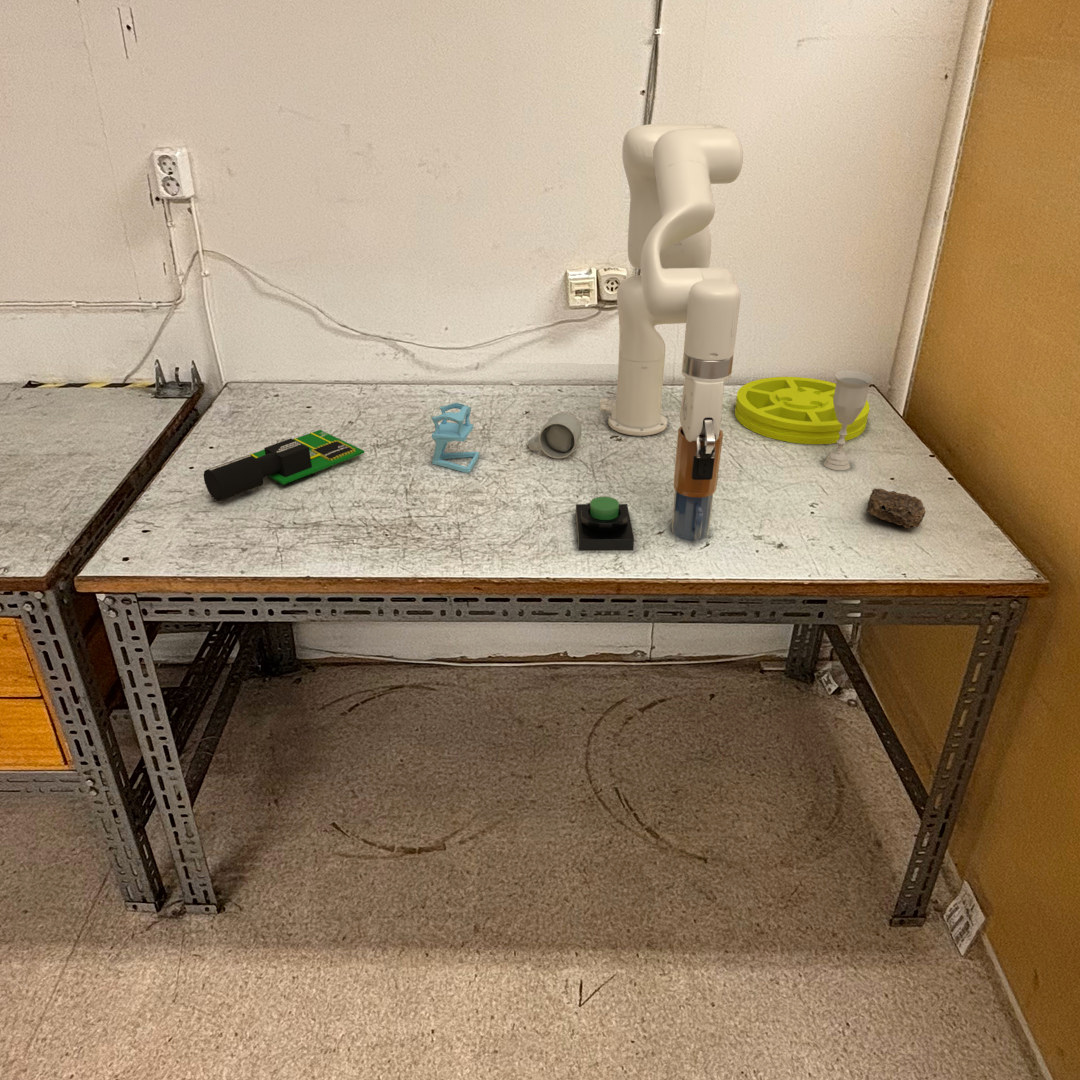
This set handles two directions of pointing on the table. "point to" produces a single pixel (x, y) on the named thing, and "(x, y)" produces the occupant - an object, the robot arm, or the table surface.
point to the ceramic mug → (558, 436)
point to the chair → (452, 436)
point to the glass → (685, 465)
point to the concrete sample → (896, 508)
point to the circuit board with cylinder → (278, 464)
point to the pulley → (794, 410)
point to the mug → (691, 517)
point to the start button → (604, 508)
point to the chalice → (847, 410)
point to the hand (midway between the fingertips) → (696, 465)
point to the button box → (604, 531)
